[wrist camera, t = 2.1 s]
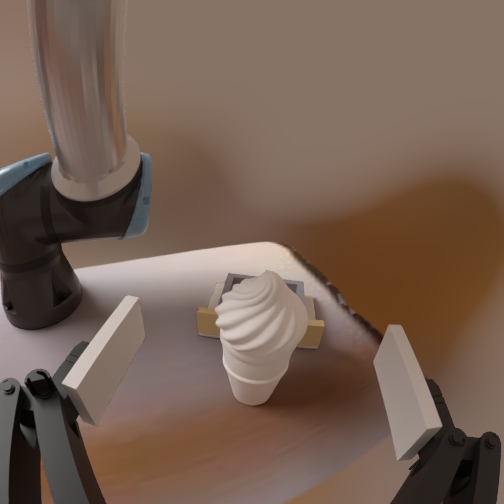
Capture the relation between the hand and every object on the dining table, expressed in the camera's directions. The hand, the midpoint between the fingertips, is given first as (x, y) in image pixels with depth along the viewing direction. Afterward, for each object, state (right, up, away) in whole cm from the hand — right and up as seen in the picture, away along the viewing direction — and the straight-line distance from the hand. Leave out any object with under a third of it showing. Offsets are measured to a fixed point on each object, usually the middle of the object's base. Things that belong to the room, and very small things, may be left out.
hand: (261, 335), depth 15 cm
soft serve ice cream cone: (-1, -12, +16) cm, 20 cm away
